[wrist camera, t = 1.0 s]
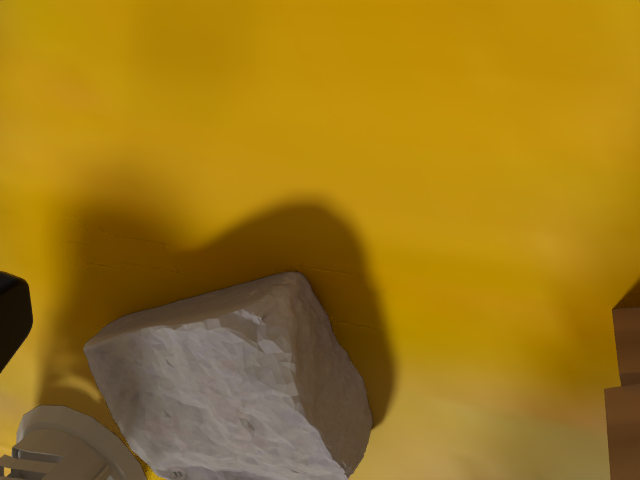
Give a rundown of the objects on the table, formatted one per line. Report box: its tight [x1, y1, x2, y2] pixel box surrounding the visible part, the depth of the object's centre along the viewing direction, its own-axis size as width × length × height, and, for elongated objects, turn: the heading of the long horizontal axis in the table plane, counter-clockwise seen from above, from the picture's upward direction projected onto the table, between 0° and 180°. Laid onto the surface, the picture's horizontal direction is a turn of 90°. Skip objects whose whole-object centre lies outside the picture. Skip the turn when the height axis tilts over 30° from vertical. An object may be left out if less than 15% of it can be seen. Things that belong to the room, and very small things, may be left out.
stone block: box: [84, 272, 373, 480], centre depth 28 cm, size 12×5×10 cm
